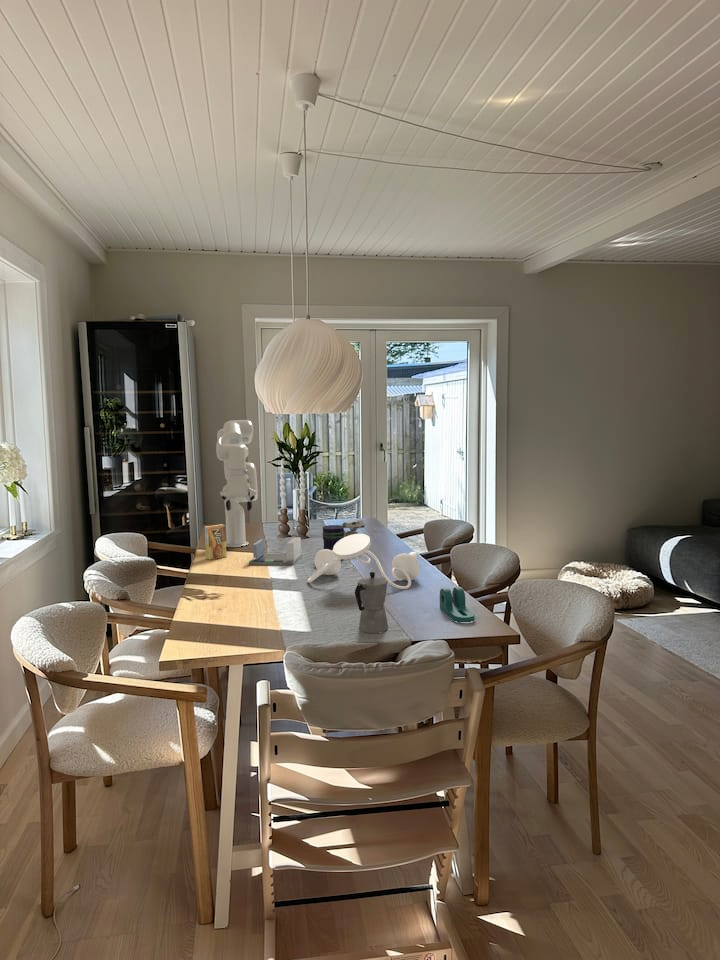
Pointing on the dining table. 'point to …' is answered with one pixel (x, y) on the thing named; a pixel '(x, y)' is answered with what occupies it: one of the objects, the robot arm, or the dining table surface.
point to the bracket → (455, 605)
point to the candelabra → (355, 546)
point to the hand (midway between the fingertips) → (239, 510)
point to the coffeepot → (372, 604)
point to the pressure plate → (258, 549)
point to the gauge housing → (281, 555)
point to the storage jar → (332, 535)
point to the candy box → (215, 541)
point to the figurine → (353, 527)
